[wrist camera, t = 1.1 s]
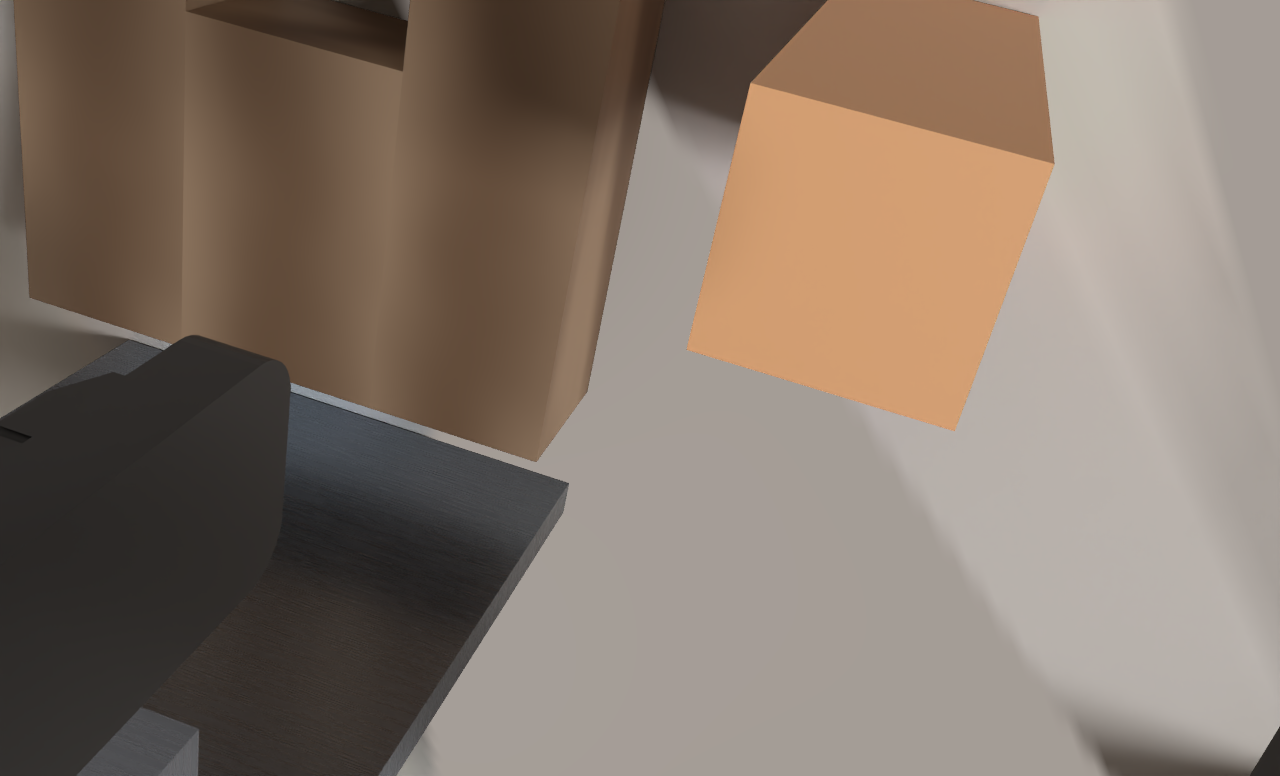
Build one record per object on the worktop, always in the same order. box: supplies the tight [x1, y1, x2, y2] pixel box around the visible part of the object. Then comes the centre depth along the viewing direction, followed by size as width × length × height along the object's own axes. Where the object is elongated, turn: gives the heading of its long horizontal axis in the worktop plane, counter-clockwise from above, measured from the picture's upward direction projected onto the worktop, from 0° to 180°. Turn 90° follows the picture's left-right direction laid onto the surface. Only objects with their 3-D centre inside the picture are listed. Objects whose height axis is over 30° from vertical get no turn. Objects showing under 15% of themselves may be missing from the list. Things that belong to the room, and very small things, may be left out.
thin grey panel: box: [0, 340, 569, 776], centre depth 25 cm, size 14×8×20 cm, turn 78°
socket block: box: [14, 0, 665, 462], centre depth 28 cm, size 14×16×4 cm
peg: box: [687, 0, 1054, 431], centre depth 22 cm, size 4×4×12 cm
